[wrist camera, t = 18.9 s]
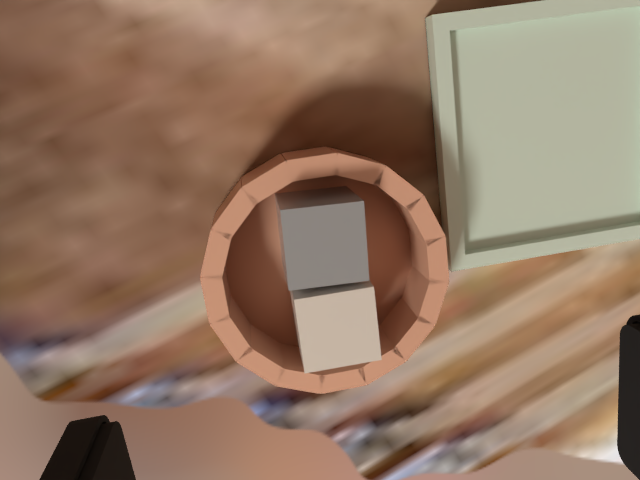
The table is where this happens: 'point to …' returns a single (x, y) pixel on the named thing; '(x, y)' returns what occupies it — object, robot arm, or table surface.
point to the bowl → (270, 282)
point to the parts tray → (536, 127)
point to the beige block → (336, 325)
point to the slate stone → (322, 237)
